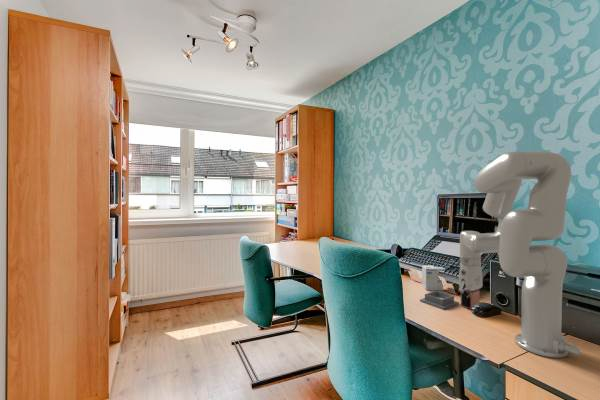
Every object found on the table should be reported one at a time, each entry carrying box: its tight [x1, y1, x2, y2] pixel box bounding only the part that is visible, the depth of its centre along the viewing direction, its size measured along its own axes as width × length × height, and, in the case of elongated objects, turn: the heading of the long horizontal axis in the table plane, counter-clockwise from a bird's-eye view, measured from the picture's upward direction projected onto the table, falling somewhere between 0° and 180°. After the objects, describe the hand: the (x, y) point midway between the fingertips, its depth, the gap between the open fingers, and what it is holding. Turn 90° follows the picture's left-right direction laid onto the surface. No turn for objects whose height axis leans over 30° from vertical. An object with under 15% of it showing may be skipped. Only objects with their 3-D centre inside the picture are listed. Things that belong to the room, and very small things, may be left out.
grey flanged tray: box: [419, 290, 460, 311], centre depth 127 cm, size 11×11×3 cm
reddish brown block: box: [460, 288, 480, 310], centre depth 122 cm, size 5×5×7 cm
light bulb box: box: [421, 264, 445, 291], centre depth 145 cm, size 11×7×11 cm, turn 84°
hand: (469, 304), depth 122 cm, fingers closed on reddish brown block, 5 cm apart
